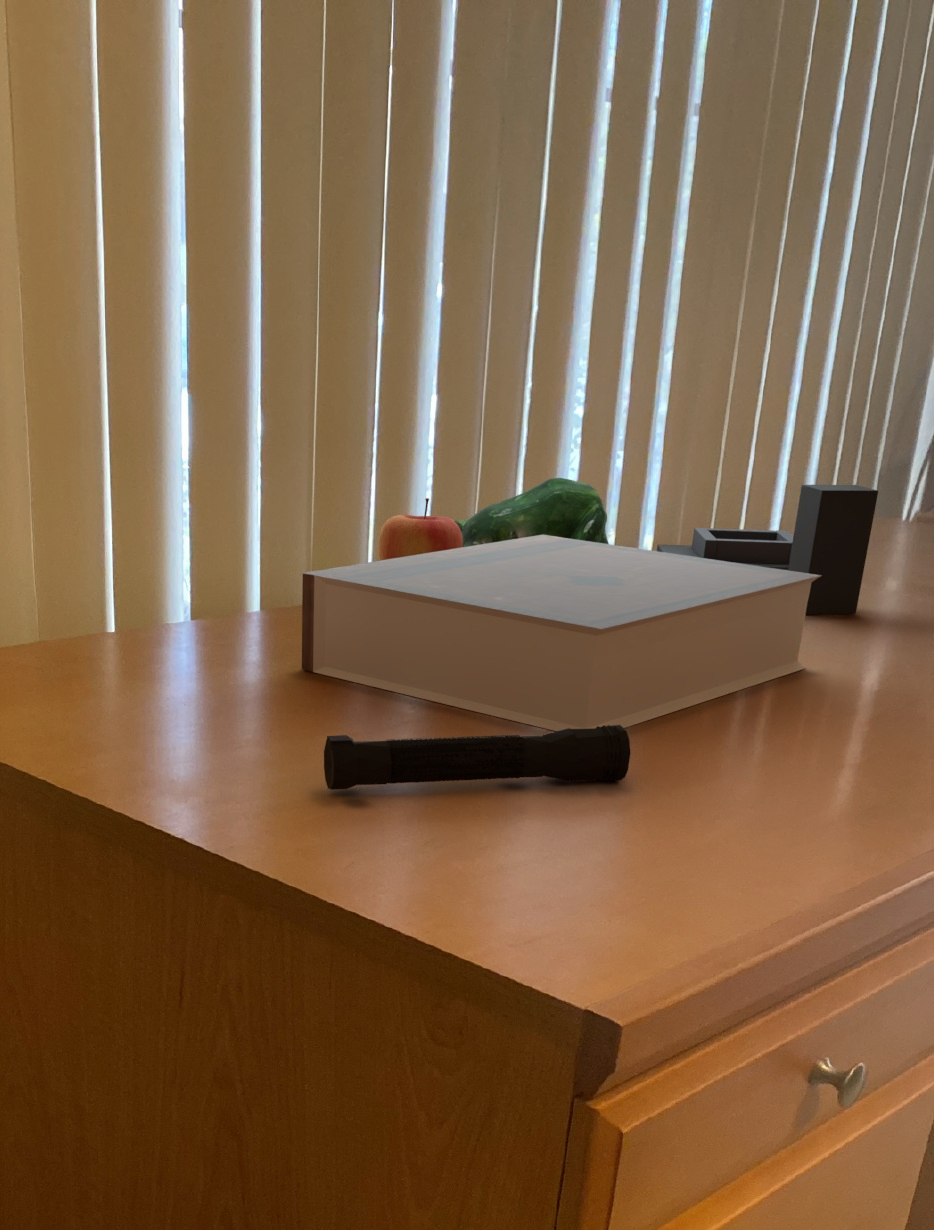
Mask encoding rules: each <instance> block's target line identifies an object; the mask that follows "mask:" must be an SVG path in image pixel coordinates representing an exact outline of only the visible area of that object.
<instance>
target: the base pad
mask: <svg viewBox="0 0 934 1230" xmlns="http://www.w3.org/2000/svg"><path fill="white" fill-rule="evenodd" d="M793 536H794V534H791V532H789V531H787V530H768V529H767V530H766V529H742V528H741V529H740V528H738V529H736V528H714V527H713V528H711V527H710V528H709V527H707V528H706V527H694V528H693V536H692V542H691V545H688V544H687V545H686V544H685V545H684V544H660V543H659V544H657V545H656V551H658V552H665V553H672V554H679V555H686V556H692V557H699V558H706V559H713V560H720V561H727V562H734V563H740V564H747V565H754V566H761V567H768V568H775V569H781V570H788V567H789V561H790V555H791V548H792V542H793Z"/></svg>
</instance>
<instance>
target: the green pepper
mask: <svg viewBox="0 0 934 1230" xmlns="http://www.w3.org/2000/svg"><path fill="white" fill-rule="evenodd" d="M453 521H454V522H455V523H456V524H457V525H458V526H459V528H460V530H461V533H462V539H463V547H468V546H475V545H481V544H487V543H493V542H500V541H506V540H512V539H518V538H525V537H531V536H537V535H549V536H556V537H562V538H569V539H576V540H583V541H590V542H597V543H603V544H609V541H608V537H607V531H606V526H607V522H608V514H607V509H606V507H605V505H604V503H603V500H602V498H601V496H600V494H599V493H598V492H597V490H596V488H595V487H593V486H592V485H590V484H588V483H587V482H583V481H577V480H574V479H573V480H572V479H570V478H563V477H553V478H549V479H546V480H544V481H542V482H541V483H539V484H537V485H536V486H534V487H532V488H529V489H528V490H526V491H524V492H522V493H520V494H517V495H515V496H513V497H509V498H507V499H504V500H501V501H499V502H494V503H491V504H490V505H487V506H485V507H483V508H482V509H481V510H479V511H477V512H476V513H474V514H473V515H472V516H471V517H469V518H468V519H465V520H458V519H456V520H453Z"/></svg>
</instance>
